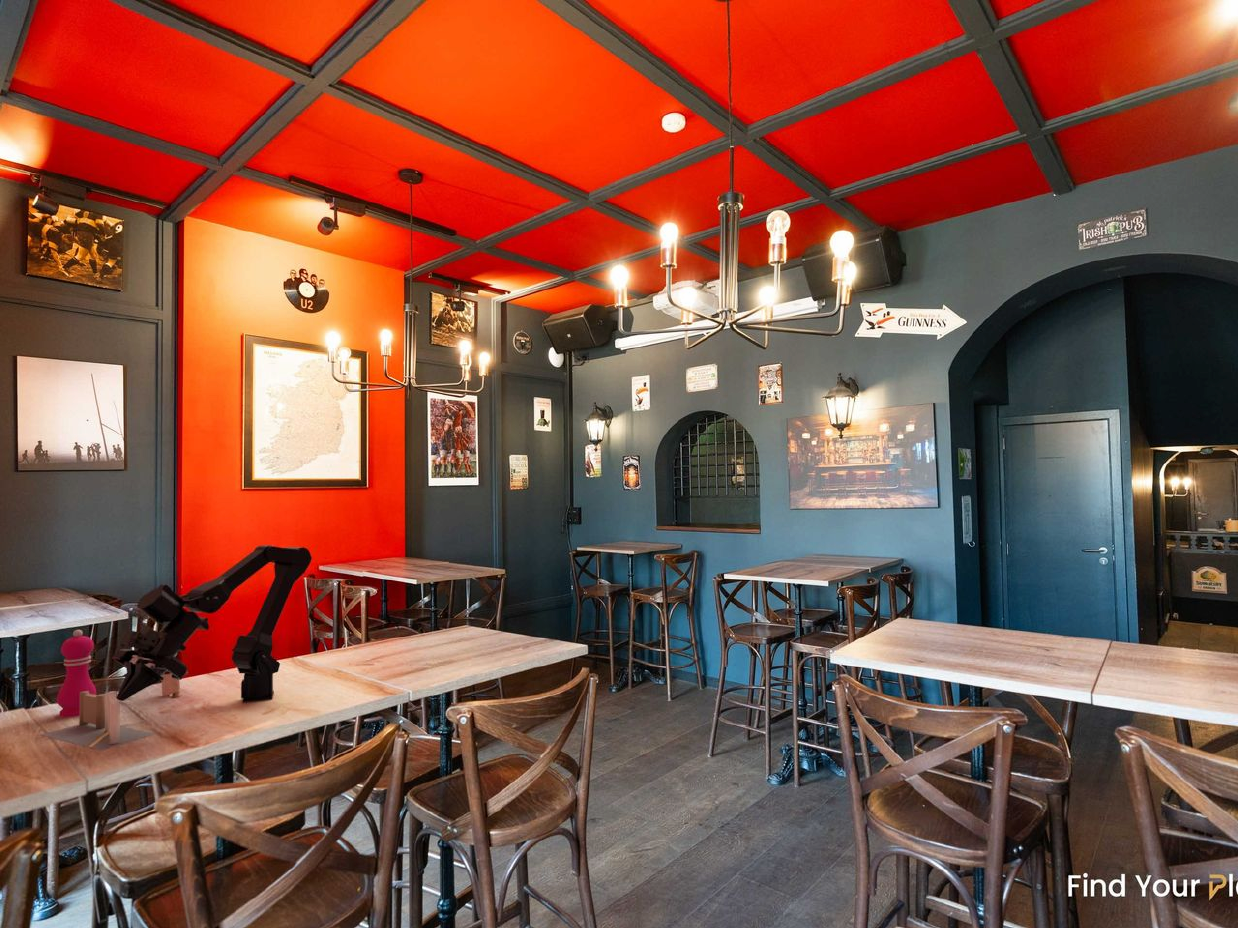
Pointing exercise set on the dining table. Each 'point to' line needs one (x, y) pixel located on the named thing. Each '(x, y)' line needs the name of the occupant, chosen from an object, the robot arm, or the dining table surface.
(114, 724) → the fence gate
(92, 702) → the board
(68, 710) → the pepper mill
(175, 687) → the grandmother figurine
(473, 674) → the dining table surface
